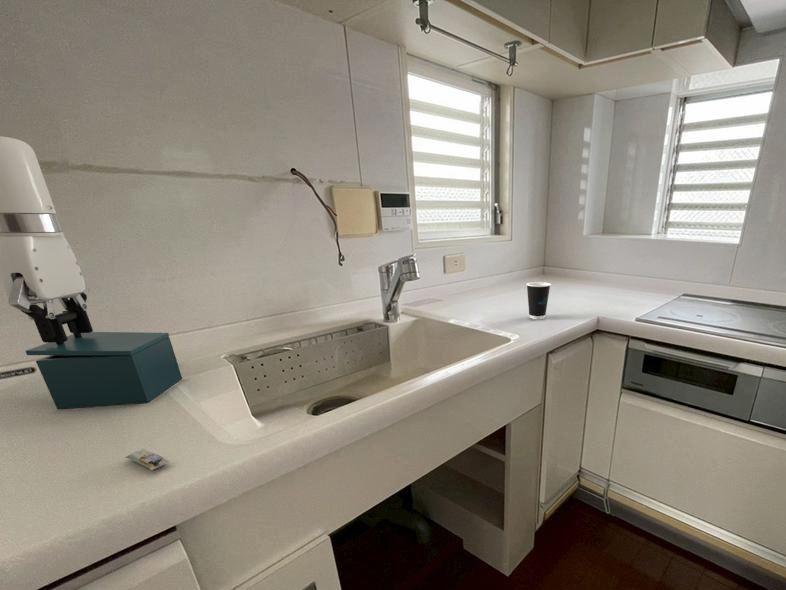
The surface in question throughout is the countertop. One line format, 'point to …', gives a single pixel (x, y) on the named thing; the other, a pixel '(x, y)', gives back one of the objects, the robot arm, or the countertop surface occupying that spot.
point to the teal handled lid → (96, 341)
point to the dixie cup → (537, 299)
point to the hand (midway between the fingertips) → (69, 336)
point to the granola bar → (147, 459)
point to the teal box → (110, 377)
